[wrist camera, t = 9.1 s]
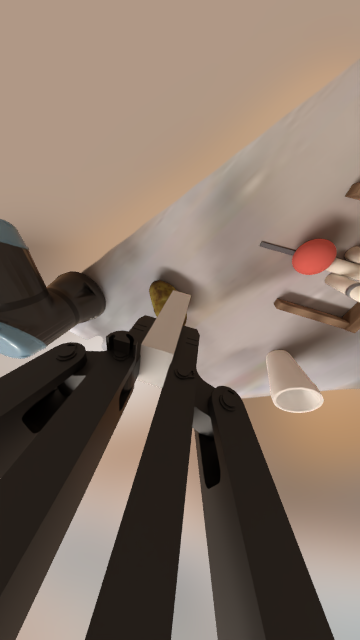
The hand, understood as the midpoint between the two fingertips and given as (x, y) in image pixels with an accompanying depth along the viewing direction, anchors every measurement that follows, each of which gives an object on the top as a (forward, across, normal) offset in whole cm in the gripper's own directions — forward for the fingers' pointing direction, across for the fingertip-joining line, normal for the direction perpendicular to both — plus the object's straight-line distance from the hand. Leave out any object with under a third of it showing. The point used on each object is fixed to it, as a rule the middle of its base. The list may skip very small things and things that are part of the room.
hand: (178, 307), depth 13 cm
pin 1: (+25, +28, +2) cm, 37 cm away
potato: (+26, -4, -13) cm, 29 cm away
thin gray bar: (+25, +15, +5) cm, 30 cm away
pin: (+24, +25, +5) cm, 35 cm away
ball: (+22, +20, +5) cm, 30 cm away
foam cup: (+25, +30, -21) cm, 44 cm away
